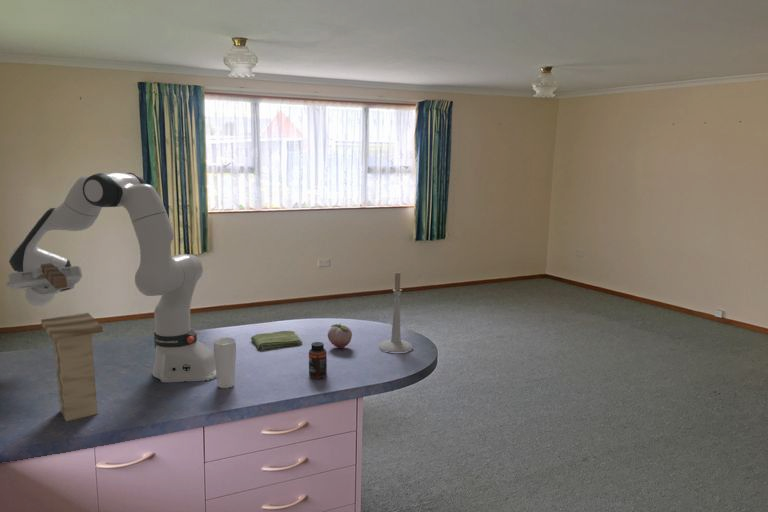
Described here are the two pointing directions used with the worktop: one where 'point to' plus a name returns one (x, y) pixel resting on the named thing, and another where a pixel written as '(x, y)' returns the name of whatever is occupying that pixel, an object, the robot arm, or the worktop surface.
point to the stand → (74, 363)
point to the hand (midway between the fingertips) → (48, 269)
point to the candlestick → (396, 325)
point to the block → (54, 276)
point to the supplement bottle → (317, 360)
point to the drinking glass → (225, 361)
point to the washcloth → (276, 339)
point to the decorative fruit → (339, 335)
